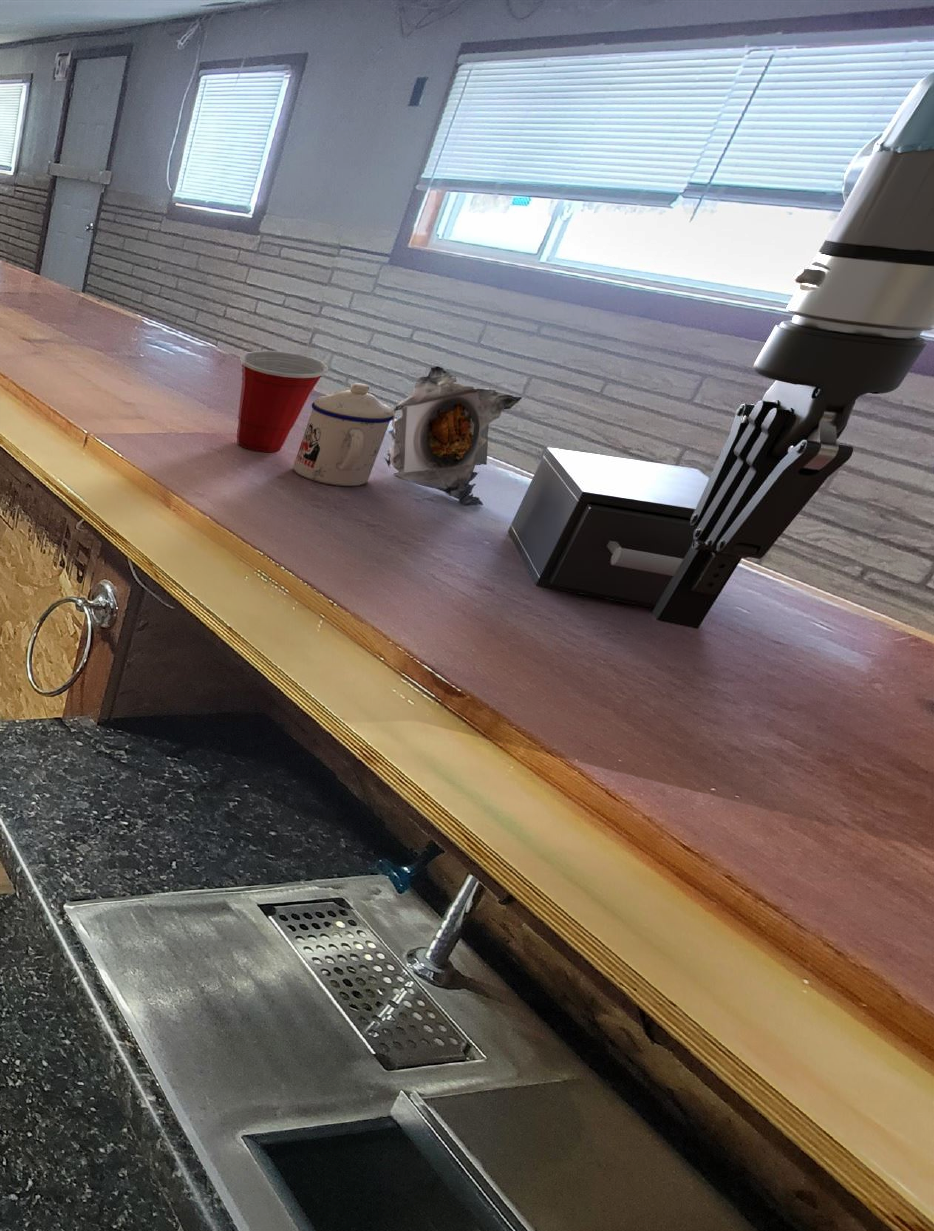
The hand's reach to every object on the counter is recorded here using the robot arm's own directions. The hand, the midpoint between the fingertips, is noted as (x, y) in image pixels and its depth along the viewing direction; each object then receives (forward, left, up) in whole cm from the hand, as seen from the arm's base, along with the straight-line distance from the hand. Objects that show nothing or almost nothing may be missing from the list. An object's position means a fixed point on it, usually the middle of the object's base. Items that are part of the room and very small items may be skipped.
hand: (674, 620), depth 74 cm
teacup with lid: (+24, -37, -4) cm, 44 cm away
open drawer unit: (0, -16, -3) cm, 16 cm away
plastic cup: (+33, -47, -4) cm, 58 cm away
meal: (+13, -42, -4) cm, 44 cm away
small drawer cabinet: (0, -20, -4) cm, 21 cm away
